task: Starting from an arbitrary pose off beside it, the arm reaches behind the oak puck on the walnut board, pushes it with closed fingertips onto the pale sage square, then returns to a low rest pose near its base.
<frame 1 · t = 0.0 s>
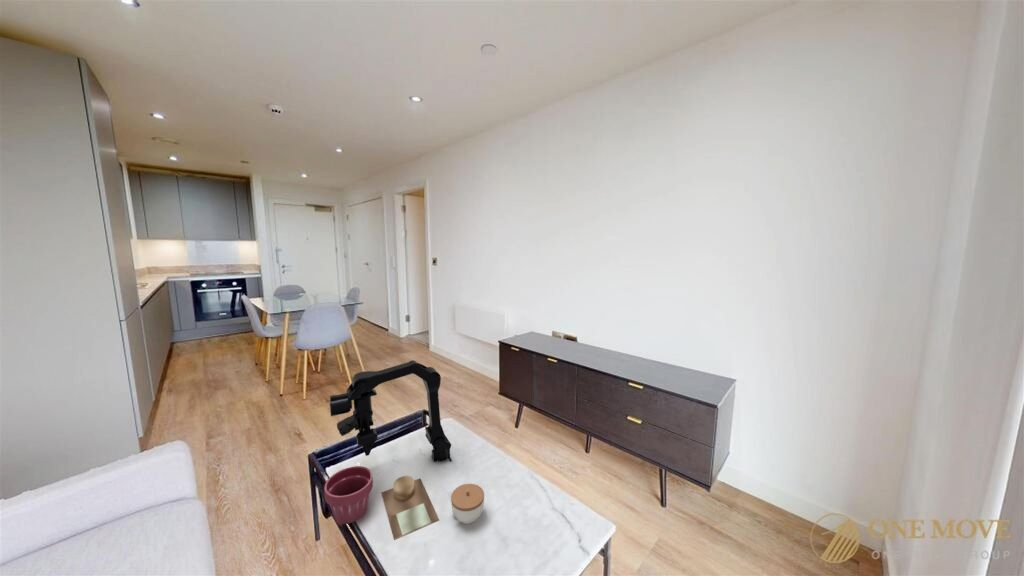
hand: (365, 448, 121), 15 cm above the table, fingers open, 9 cm apart
lidded jar: (468, 516, 110), on the table
oak puck: (404, 493, 118), point 1 cm above the table, touching walnut board
walnut board: (408, 508, 113), on the table
plant pot: (351, 515, 110), on the table
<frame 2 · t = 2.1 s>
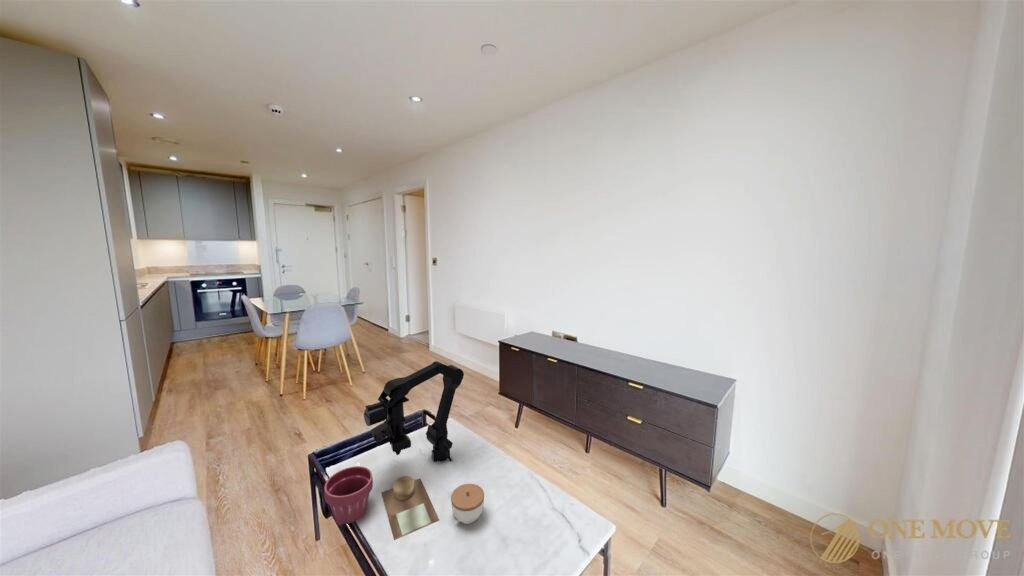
hand: (397, 454, 124), 11 cm above the table, fingers closed
nothing on the table moved.
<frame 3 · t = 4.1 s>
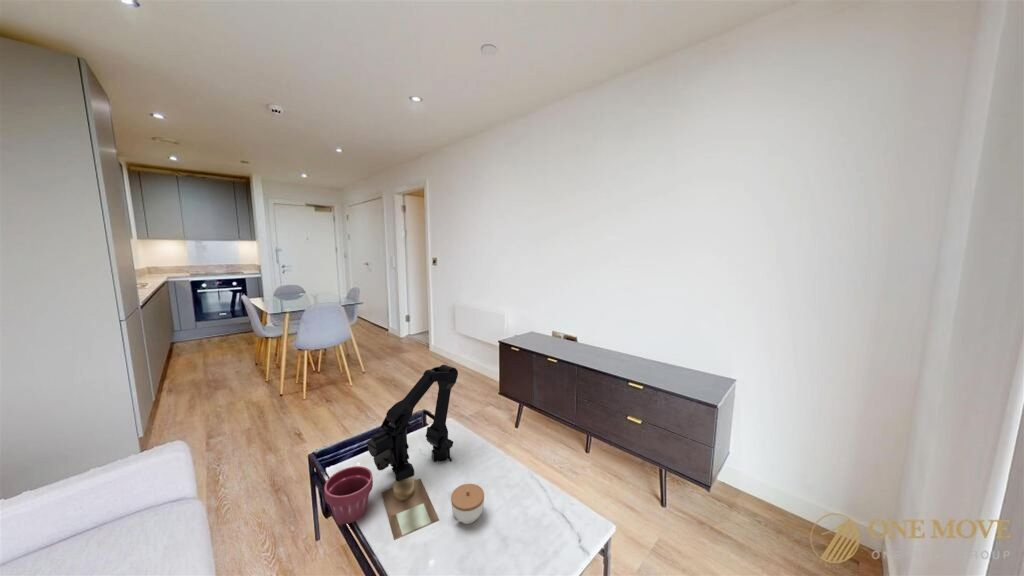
hand: (400, 481, 122), 2 cm above the table, fingers closed
oak puck: (404, 493, 118), point 1 cm above the table, touching gripper
everything else where it was.
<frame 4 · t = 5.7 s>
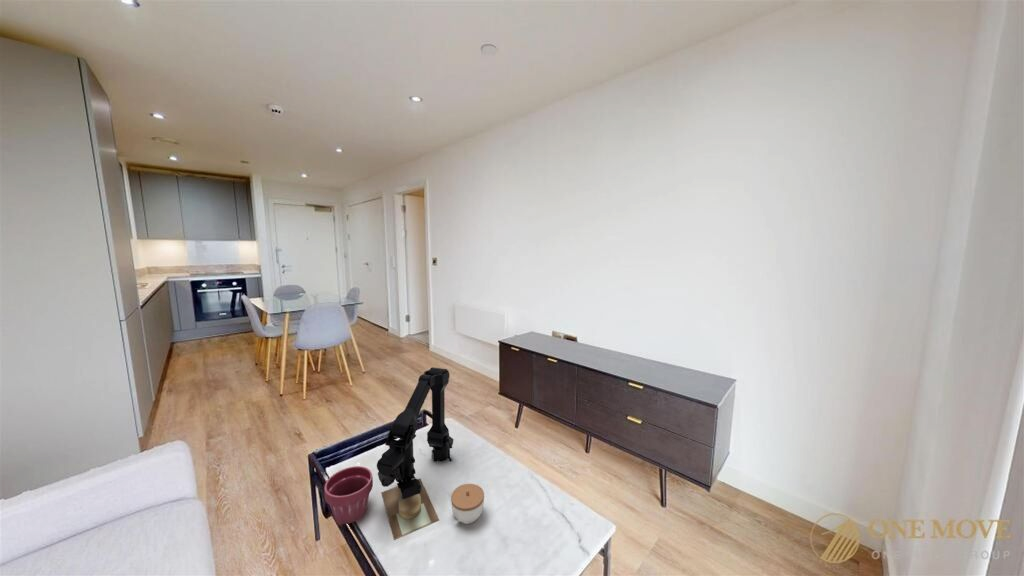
hand: (406, 497, 115), 2 cm above the table, fingers closed
oak puck: (410, 510, 110), point 1 cm above the table, touching gripper
everything else where it was.
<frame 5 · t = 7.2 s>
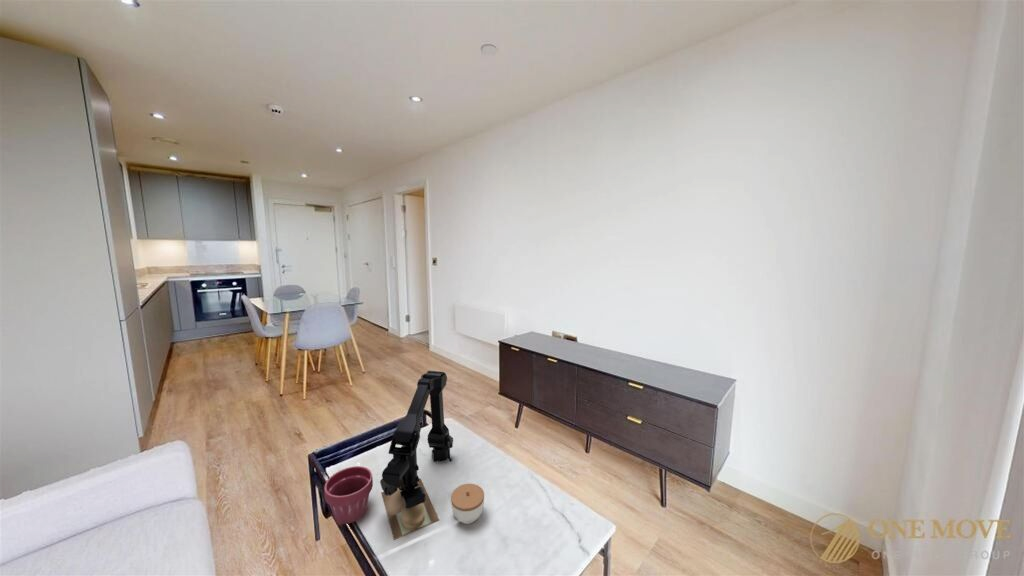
hand: (409, 505, 111), 2 cm above the table, fingers closed
oak puck: (413, 520, 107), point 1 cm above the table, touching gripper, walnut board
everything else where it was.
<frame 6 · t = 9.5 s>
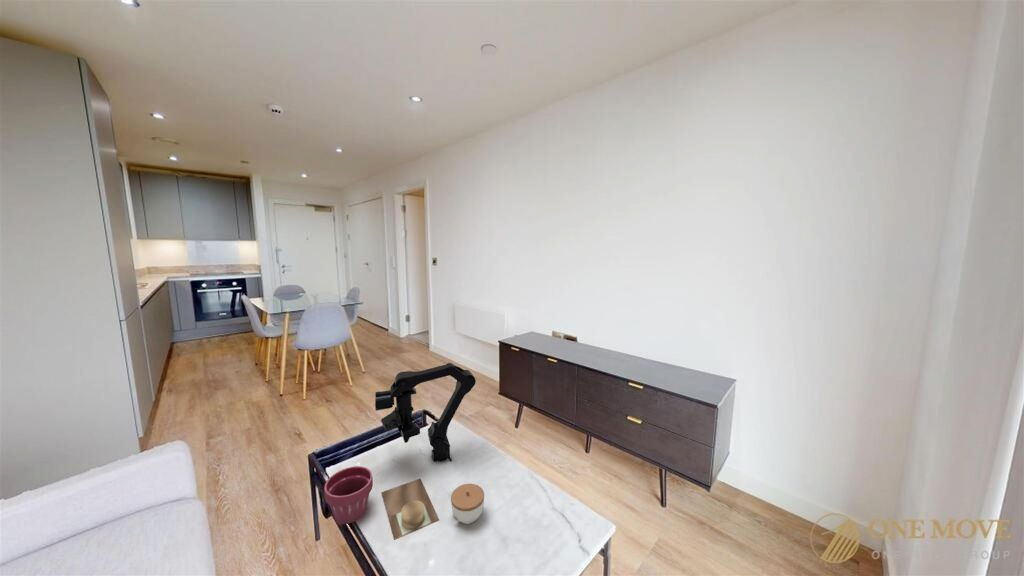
hand: (406, 442, 131), 11 cm above the table, fingers closed
oak puck: (413, 520, 107), point 1 cm above the table, touching walnut board
everything else where it was.
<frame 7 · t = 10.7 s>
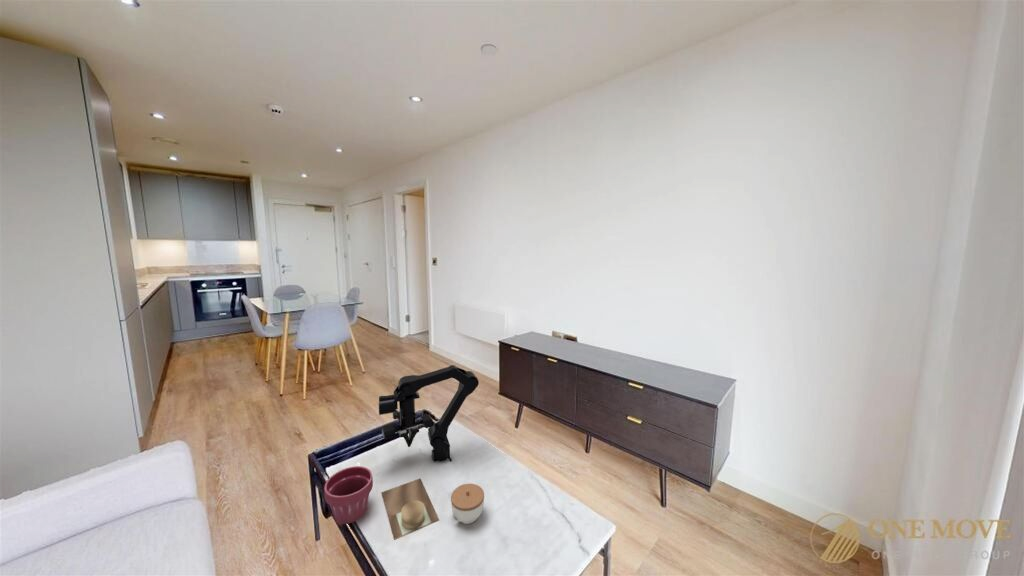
hand: (409, 446, 132), 9 cm above the table, fingers closed
nothing on the table moved.
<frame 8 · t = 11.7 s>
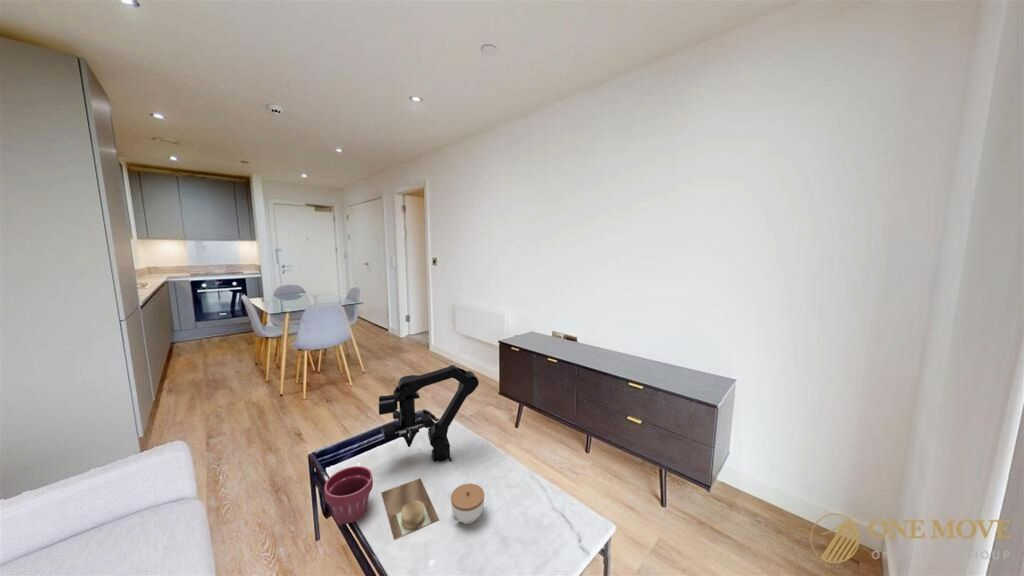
hand: (409, 446, 132), 9 cm above the table, fingers closed
nothing on the table moved.
at the end: oak puck inside the target area on the walnut board (0.7 cm from its centre), point 1.2 cm above the walnut board's base; oak puck tilted 0°; oak puck touching walnut board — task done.
